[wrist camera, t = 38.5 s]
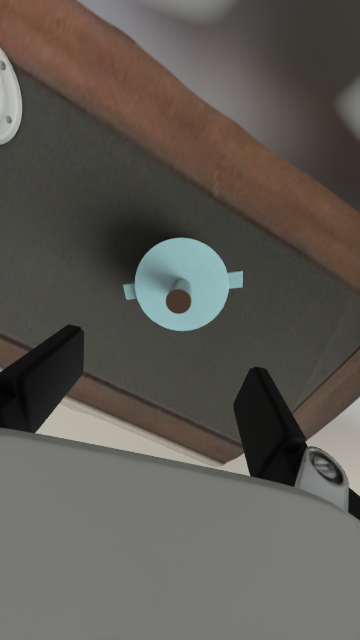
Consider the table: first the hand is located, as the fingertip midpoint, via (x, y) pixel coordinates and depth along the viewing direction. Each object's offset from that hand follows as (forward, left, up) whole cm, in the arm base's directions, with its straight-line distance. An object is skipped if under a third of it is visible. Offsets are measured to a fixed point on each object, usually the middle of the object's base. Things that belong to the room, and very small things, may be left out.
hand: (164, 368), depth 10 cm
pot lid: (0, 0, -19) cm, 19 cm away
